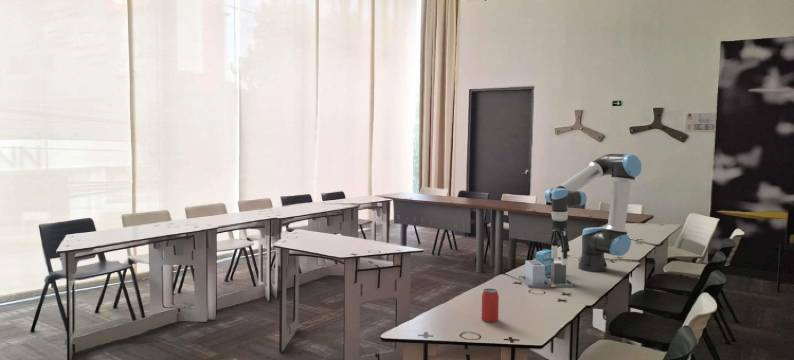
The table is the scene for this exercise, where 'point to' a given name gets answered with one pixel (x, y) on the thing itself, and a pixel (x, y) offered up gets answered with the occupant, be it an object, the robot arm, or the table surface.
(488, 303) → the beer can
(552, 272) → the plug
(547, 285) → the grey flat panel
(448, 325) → the table surface
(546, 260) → the data package
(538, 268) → the block
